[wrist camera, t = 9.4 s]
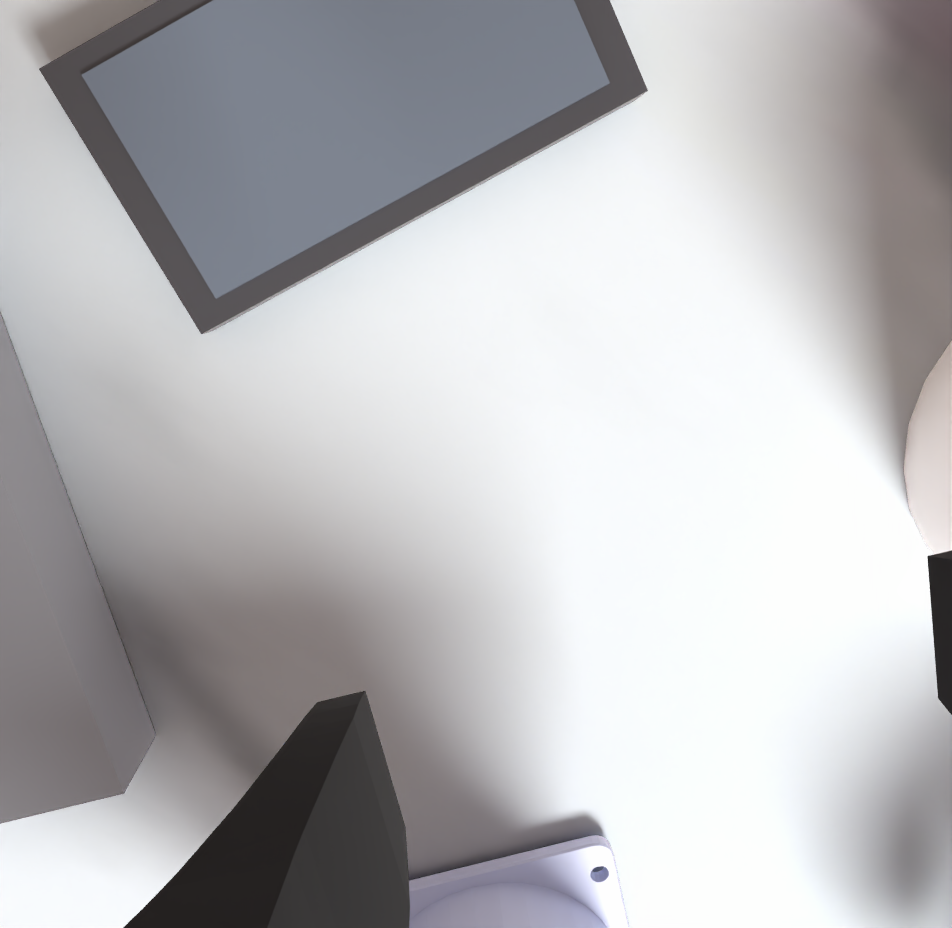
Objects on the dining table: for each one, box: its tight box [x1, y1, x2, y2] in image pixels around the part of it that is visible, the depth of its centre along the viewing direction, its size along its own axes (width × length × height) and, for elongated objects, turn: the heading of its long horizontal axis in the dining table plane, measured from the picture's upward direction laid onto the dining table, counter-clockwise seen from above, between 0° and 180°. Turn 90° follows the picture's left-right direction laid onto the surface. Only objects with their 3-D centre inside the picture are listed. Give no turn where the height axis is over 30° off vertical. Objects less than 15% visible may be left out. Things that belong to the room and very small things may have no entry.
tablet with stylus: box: [39, 0, 648, 334], centre depth 17 cm, size 8×13×1 cm, turn 118°
